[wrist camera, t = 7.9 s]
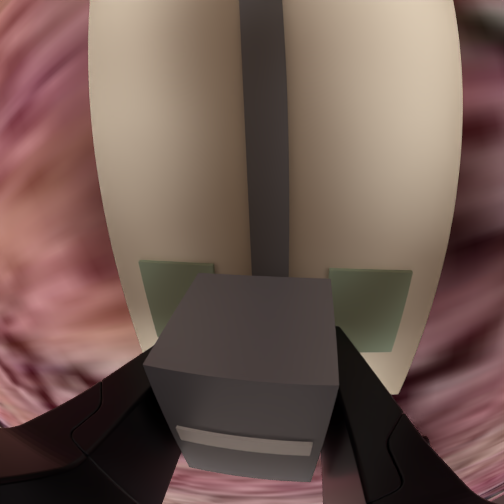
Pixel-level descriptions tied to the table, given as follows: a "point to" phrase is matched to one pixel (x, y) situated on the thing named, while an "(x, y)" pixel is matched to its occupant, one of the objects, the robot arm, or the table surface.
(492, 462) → the table surface
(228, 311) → the fader knob
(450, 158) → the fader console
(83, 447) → the robot arm
